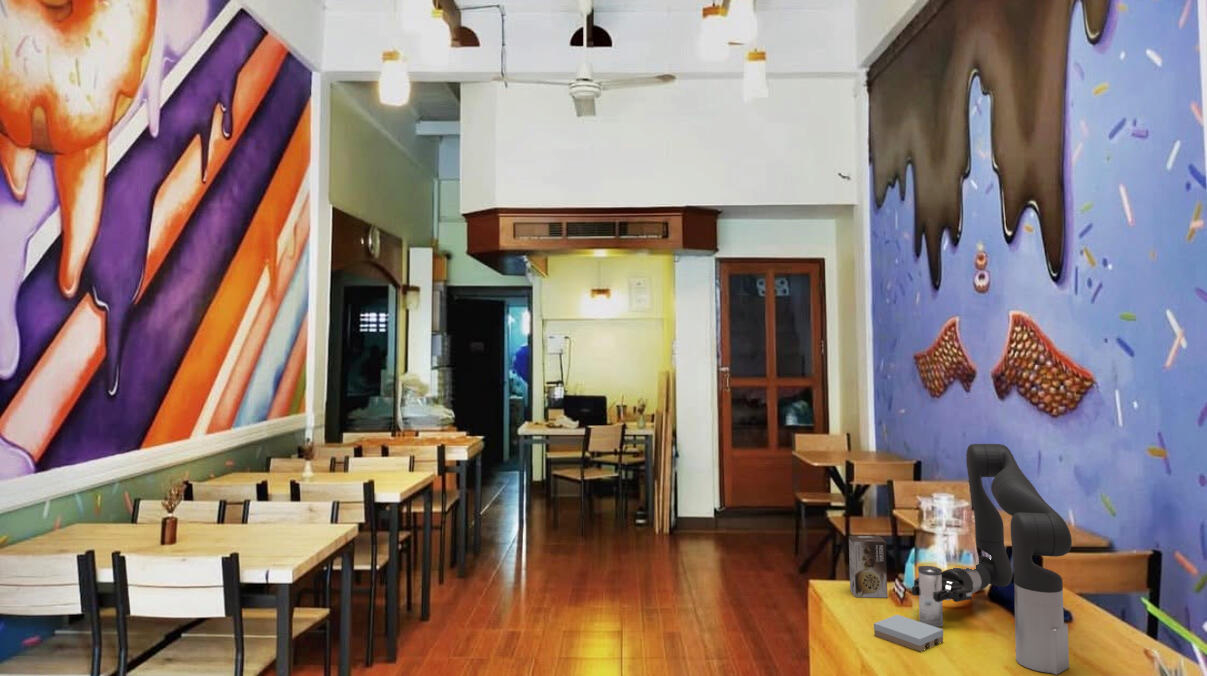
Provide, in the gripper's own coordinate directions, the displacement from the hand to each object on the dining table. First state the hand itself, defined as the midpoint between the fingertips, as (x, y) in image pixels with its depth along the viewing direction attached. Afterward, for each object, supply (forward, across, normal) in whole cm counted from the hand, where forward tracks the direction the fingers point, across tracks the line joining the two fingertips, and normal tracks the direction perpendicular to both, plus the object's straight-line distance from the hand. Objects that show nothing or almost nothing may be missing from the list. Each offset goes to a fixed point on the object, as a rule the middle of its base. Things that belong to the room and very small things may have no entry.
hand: (925, 594), depth 177 cm
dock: (+11, +2, +8) cm, 14 cm away
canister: (-3, 0, +8) cm, 8 cm away
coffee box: (-10, -23, +8) cm, 26 cm away
